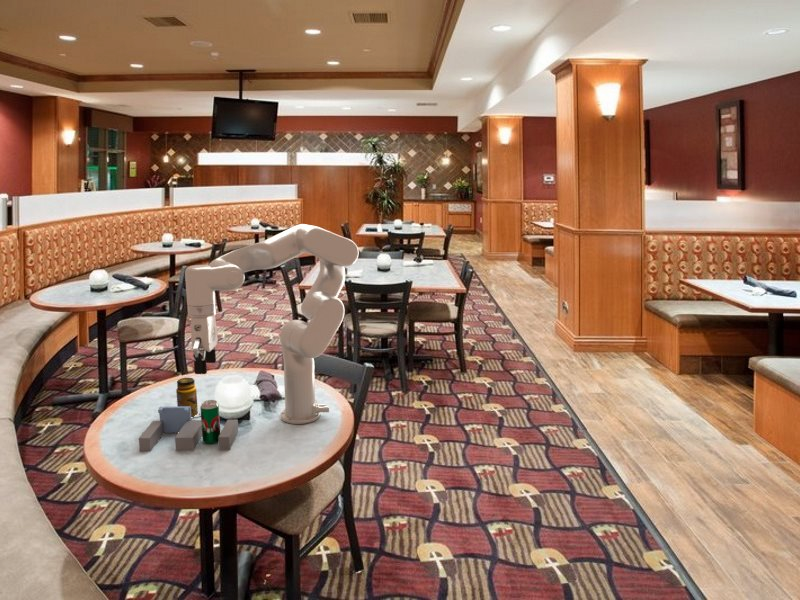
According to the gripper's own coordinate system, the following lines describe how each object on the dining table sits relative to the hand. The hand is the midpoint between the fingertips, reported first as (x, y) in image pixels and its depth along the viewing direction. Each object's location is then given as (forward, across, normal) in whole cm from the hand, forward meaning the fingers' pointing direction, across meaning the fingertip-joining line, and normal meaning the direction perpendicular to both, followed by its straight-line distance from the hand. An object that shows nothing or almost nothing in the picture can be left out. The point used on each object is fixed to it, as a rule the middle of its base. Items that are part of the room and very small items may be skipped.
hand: (205, 367), depth 177 cm
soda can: (+23, 0, 0) cm, 23 cm away
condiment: (+23, +18, +13) cm, 32 cm away
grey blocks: (+22, -1, +6) cm, 23 cm away
